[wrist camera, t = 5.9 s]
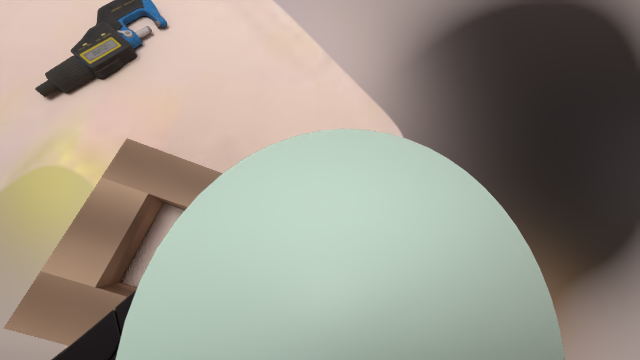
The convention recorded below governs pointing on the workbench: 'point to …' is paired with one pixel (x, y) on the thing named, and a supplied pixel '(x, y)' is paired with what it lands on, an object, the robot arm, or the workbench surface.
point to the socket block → (105, 242)
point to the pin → (343, 263)
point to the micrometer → (103, 46)
